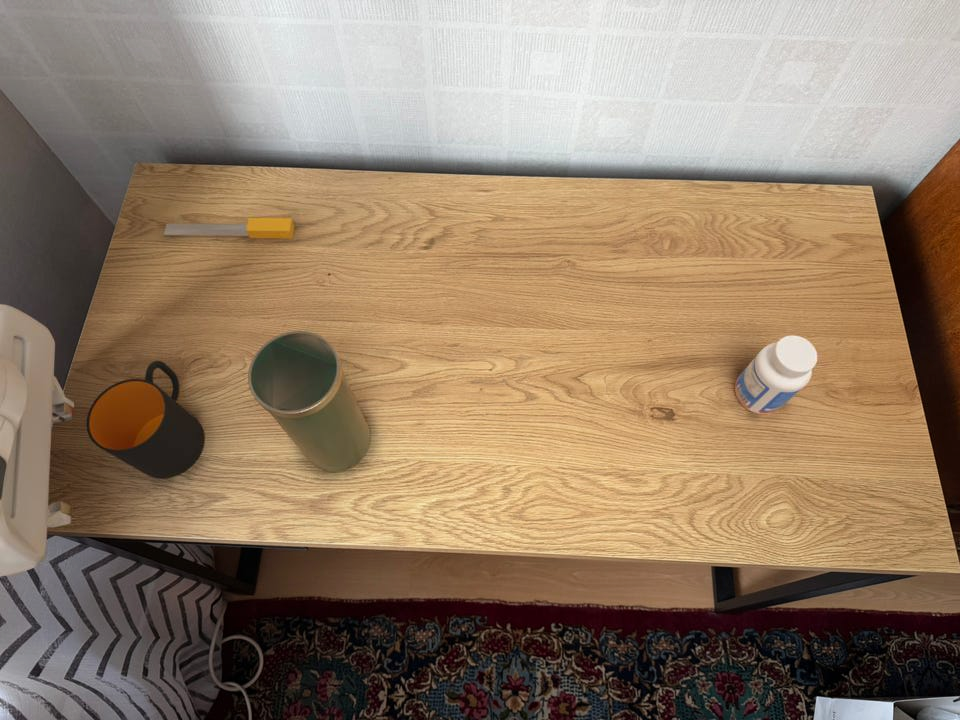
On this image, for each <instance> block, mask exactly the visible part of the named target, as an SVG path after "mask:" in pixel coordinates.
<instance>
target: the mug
mask: <svg viewBox="0 0 960 720" xmlns="http://www.w3.org/2000/svg"><path fill="white" fill-rule="evenodd" d="M156 369H160V370H161V371H162V372H163V373H164V374H165V375H166V376H167V377H168V378H169V379H170V381H171V385H172V393H171V396H170V395H169V394H168V393H167V392H165V391H164V390H163V389H162V388H161V387H159V385H157V384H156V383H154V372H155V370H156ZM179 395H180V382H179V378H178V376H177V374H176V373H175V372H174V370H172V368H170V366H168V364H166V363H165V362H164V361H161V360H154V361H152V362H150V363H149V365H148V366H147V368H146V370H145V377H144V379H142V378H129V379H124V380H121V381H118V382H116V383H114V384H112V385H110V386H108V387H107V388H105V389H104V390H103V391H102V392H101V393H99V394H98V396H97V397H96V398H95V399H94V401H93V403H92V404H91V406H90V407H89V410H88V413H87V416H86V424H85V425H86V432H87V434H88V438H89V439H90V440H91V442H92V443H93V444H94V445H95V446H96V447H98V448H99V449H101V450H102V451H104V452H106V453H108V454H110V455H111V456H113V457H115V458H116V459H118V460H120V461H122V462H124V463H125V464H127V465H129V466H131V467H132V468H134V469H136V470H137V471H139V472H140V473H143V474H144V475H146V476H149V477H151V478H154V479H159V480H160V479H170V478H175V477H177V476H180V475H182V474H184V473H185V472H187V471H188V470H189V469H190V468H191V467H192V466H193V465H195V463H196V462H197V461H198V460H199V459H200V456H201V455H202V452H203V449H204V446H205V432H204V428H203V427H202V424H201V423H200V422H199V420H198V419H197V418H195V417H194V416H193V415H192V414H191V413H189V411H187V409H185V408H184V407H183V406H181V405H180V404H179V403H178V402H177V400H178V398H179Z"/></svg>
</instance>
